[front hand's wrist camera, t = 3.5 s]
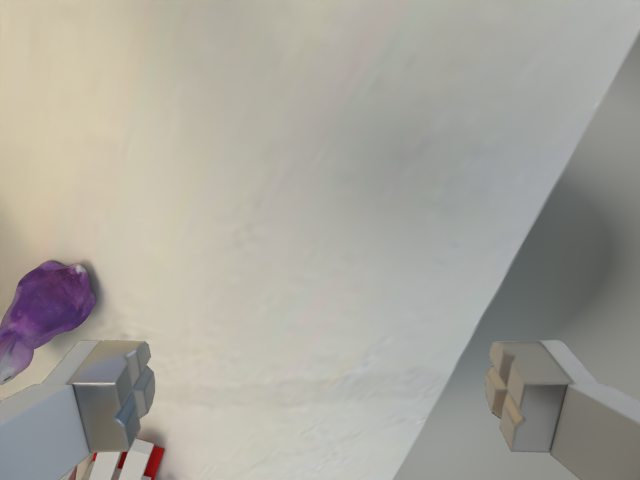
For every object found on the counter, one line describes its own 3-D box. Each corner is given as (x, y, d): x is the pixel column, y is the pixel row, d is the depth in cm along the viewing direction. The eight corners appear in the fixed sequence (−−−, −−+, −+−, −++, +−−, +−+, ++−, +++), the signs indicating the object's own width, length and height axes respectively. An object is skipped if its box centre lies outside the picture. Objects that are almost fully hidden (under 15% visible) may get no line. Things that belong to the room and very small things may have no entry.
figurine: (39, 333, 58) (-49, 419, 44) (13, 261, 54) (-93, 331, 40) (111, 328, 58) (45, 414, 44) (90, 256, 54) (10, 324, 40)
